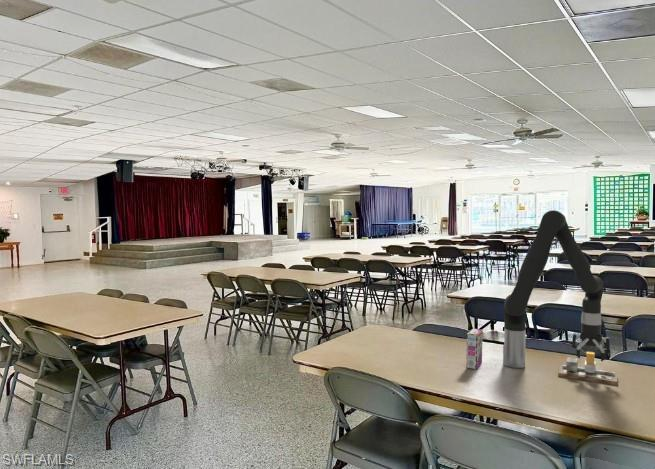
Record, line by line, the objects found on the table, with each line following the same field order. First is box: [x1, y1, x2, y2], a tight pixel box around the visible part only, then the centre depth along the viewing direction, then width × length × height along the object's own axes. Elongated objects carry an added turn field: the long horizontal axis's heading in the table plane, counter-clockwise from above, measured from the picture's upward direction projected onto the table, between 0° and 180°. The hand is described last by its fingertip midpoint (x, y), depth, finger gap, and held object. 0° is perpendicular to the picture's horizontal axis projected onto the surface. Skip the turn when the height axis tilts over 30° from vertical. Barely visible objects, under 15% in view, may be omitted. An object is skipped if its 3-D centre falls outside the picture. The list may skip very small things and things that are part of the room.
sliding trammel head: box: [584, 351, 597, 374], centre depth 204 cm, size 4×6×9 cm, turn 149°
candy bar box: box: [465, 328, 484, 371], centre depth 220 cm, size 11×5×16 cm, turn 149°
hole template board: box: [557, 357, 618, 386], centre depth 204 cm, size 22×10×6 cm, turn 59°
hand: (590, 359), depth 204 cm, fingers open, 8 cm apart
